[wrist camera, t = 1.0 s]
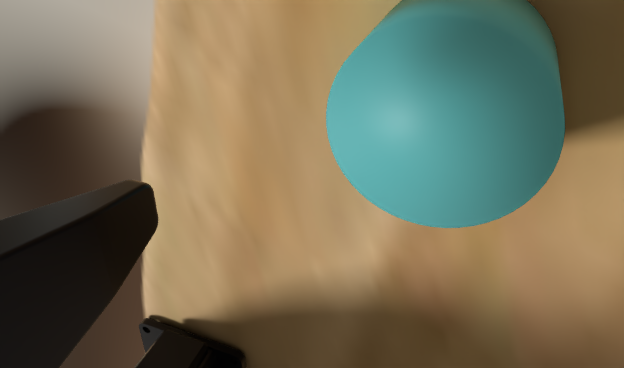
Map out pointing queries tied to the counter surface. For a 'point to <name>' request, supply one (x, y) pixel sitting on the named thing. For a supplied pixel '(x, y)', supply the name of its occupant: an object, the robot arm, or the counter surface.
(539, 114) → the teal round block
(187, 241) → the counter surface
